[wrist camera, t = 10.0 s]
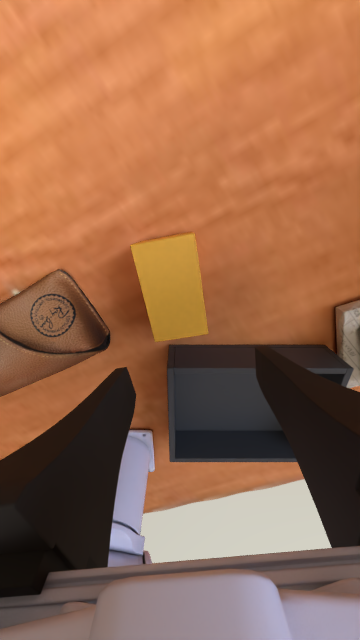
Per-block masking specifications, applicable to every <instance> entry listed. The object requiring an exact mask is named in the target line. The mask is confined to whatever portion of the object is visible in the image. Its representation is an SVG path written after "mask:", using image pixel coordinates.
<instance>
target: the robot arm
mask: <svg viewBox="0 0 360 640" xmlns="http://www.w3.org/2000/svg"><path fill="white" fill-rule="evenodd" d="M255 361H256V378H257V381H258V383H259V386H260V388H261V391H262V393H263V395H264V397H265V399H266V401H267V402H268V404H269V406H270V408H271V410H272V412H273V413H274V415H275V417H276V419H277V420H278V422H279V424H280V426H281V428H282V429H283V431H284V433H285V435H286V437H287V439H288V441H289V443H290V446H291V448H292V450H293V453H294V455H295V457H296V459H297V462H298V464H299V466H300V469H301V471H302V474H303V476H304V478H305V481H306V483H307V485H308V488H309V490H310V493H311V495H312V498H313V500H314V503H315V505H316V508H317V510H318V513H319V516H320V518H321V521H322V523H323V526H324V529H325V531H326V534H327V537H328V539H329V542H330V544H331V547H332V548H328V549H316V550H305V551H293V552H281V553H270V554H259V555H246V556H235V557H223V558H211V559H199V560H188V561H177V562H164V563H152V561H151V557H150V554H149V553H148V551H144V550H143V549H144V540H145V537H144V536H140V532H141V523H142V516H143V508H144V501H145V493H146V485H147V477H148V472H153V471H154V470H155V462H154V449H153V435H152V431H150V430H129V429H130V425H131V422H132V418H133V414H134V408H135V401H136V393H135V390H134V387H133V384H132V381H131V378H130V375H129V372H128V369H127V367H124V368H117V369H115V370H114V371H113V372H112V373H111V374H110V375H109V376H108V377H107V378H106V379H105V380H104V381H103V382H102V383H101V384H100V385H99V386H98V387H97V388H96V389H95V390H94V391H93V392H92V393H91V394H90V395H89V396H88V397H87V398H86V399H85V400H84V401H82V402H81V403H80V404H79V405H78V406H77V407H76V408H75V409H74V410H73V411H71V412H70V413H69V414H68V415H67V416H65V417H64V418H63V419H62V420H60V421H59V422H58V423H56V424H55V425H54V426H52V427H51V428H50V429H48V430H47V431H45V432H44V433H43V434H41V435H40V436H38V437H37V438H35V439H34V440H33V441H31V442H30V443H28V444H26V445H25V446H23V447H22V448H20V449H19V450H17V451H15V452H14V453H12V454H10V455H9V456H7V457H5V458H4V459H2V460H0V640H360V392H357V391H355V390H352V389H349V388H347V387H344V386H342V385H339V384H337V383H335V382H332V381H330V380H328V379H325V378H323V377H321V376H319V375H317V374H315V373H313V372H311V371H309V370H307V369H305V368H303V367H302V366H300V365H298V364H296V363H295V362H293V361H291V360H289V359H288V358H286V357H284V356H283V355H281V354H280V353H278V352H276V351H275V350H273V349H272V348H270V347H268V346H259V347H255Z"/></svg>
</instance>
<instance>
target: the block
mask: <svg viewBox="0 0 360 640" xmlns="http://www.w3.org/2000/svg"><path fill="white" fill-rule="evenodd" d="M130 247H131V251H132V255H133V259H134V263H135V267H136V270H137V274H138V278H139V282H140V286H141V290H142V294H143V298H144V302H145V305H146V309H147V313H148V317H149V321H150V325H151V329H152V333H153V337H154V340H155V342H160V341H166V340H173V339H179V338H186V337H192V336H198V335H205V334H208V327H207V319H206V312H205V304H204V297H203V290H202V282H201V275H200V267H199V260H198V253H197V245H196V238H195V233H193V232H187V233H182V234H177V235H172V236H166V237H161V238H156V239H150V240H145V241H140V242H138V243H135V244H132V245H130Z"/></svg>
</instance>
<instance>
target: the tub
mask: <svg viewBox="0 0 360 640" xmlns="http://www.w3.org/2000/svg"><path fill="white" fill-rule="evenodd" d="M259 346H268V347H270V348H272V349H273V350H275V351H276V352H278V353H280V354H281V355H283V356H284V357H286V358H288V359H289V360H291V361H293V362H295V363H296V364H298V365H300V366H302V367H303V368H305V369H307V370H309V371H311V372H313V373H315V374H317V375H319V376H321V377H323V378H325V379H328V380H330V381H332V382H335V383H337V384H339V385H342V386H344V387H347V384H348V382H349V379H350V377H351V375H352V372H353V370H354V368H353V367H351V366H350V365H349V364H348V363H347V362H345V361H344V360H343V359H342V358H340V357H339V356H338V355H337V354H335V353H334V352H333V351H332V350H331V349H329V348H328V347H327V346H326V345H169V353H168V364H167V382H168V416H169V451H170V462H297V459H296V457H295V455H294V453H293V450H292V448H291V446H290V443H289V441H288V439H287V437H286V435H285V433H284V431H283V429H282V428H281V426H280V424H279V422H278V420H277V419H276V417H275V415H274V413H273V412H272V410H271V408H270V406H269V404H268V402H267V401H266V399H265V397H264V395H263V393H262V391H261V388H260V386H259V383H258V381H257V378H256V361H255V347H259Z"/></svg>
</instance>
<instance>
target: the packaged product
mask: <svg viewBox="0 0 360 640" xmlns="http://www.w3.org/2000/svg"><path fill="white" fill-rule="evenodd" d="M335 309H336V334H337V355H338V356H339V357H340V358H342V359H343V360H344V361H345V362H347V363H348V364H349V365H350V366H351V367H353V368H354V370H353V372H352V375H351V377H350V379H349V382H348V384H347V388H352V387H356V386H360V300H357V301H354V302H351V303H348V304H344V305H341V306H338V307H335Z"/></svg>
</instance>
